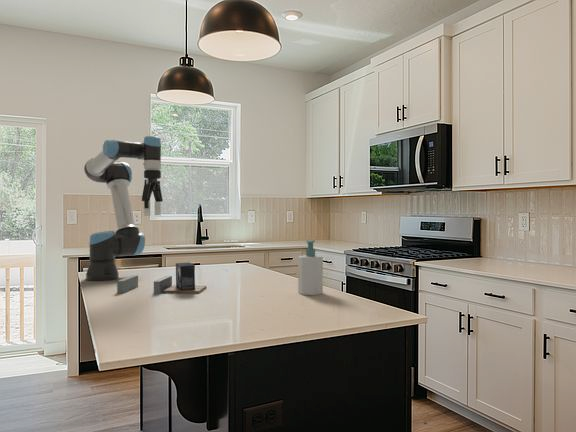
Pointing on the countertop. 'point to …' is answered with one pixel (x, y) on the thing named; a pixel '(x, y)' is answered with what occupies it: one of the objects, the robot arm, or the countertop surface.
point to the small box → (185, 276)
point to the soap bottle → (310, 272)
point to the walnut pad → (176, 290)
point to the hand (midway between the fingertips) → (152, 215)
